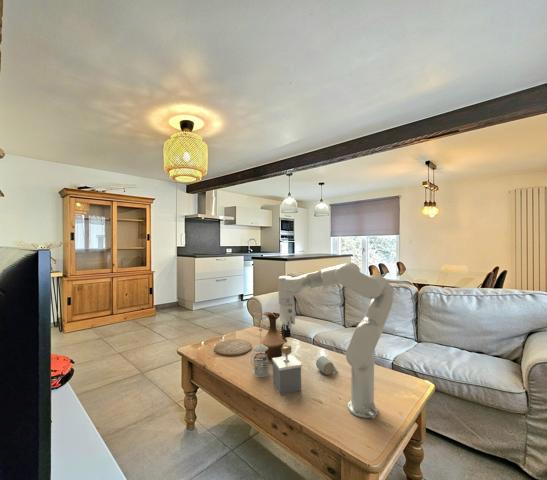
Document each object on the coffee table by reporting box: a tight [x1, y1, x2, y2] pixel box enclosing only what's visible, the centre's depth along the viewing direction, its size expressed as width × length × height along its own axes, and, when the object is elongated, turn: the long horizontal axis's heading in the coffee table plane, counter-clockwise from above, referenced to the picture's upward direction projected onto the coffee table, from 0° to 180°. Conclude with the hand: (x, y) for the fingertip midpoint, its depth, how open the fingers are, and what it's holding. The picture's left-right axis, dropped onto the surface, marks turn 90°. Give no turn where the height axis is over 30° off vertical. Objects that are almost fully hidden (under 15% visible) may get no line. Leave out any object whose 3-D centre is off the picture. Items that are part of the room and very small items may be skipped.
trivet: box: [213, 338, 252, 357], centre depth 193 cm, size 25×25×2 cm
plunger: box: [281, 344, 292, 363], centre depth 144 cm, size 5×5×18 cm
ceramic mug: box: [315, 355, 337, 376], centre depth 160 cm, size 11×8×8 cm
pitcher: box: [259, 311, 288, 361], centre depth 180 cm, size 18×17×28 cm
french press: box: [250, 328, 271, 378], centre depth 158 cm, size 10×12×25 cm
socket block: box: [271, 354, 303, 396], centre depth 146 cm, size 16×12×13 cm
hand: (287, 337), depth 144 cm, fingers closed
